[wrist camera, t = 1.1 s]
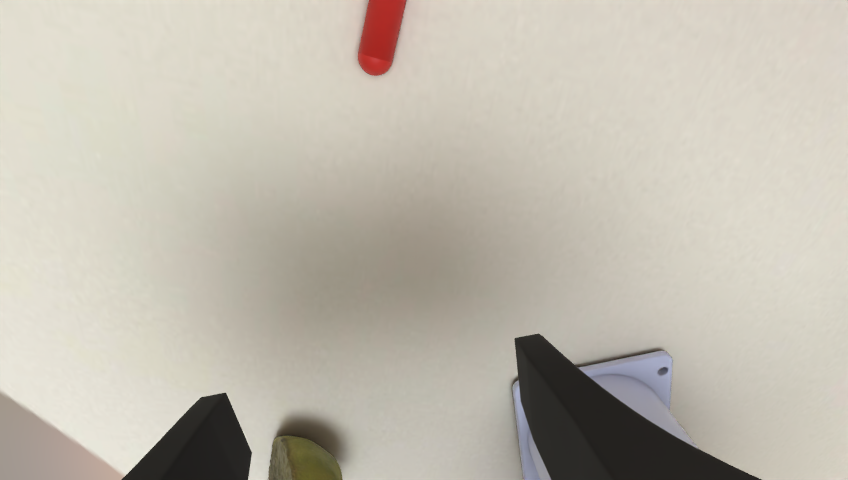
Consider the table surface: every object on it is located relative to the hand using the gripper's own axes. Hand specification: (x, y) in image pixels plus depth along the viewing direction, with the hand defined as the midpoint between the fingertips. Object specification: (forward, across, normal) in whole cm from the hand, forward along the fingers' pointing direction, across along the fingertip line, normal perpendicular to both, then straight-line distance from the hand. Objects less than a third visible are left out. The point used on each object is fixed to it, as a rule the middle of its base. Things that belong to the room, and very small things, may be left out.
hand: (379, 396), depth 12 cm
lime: (+9, +6, +10) cm, 15 cm away
